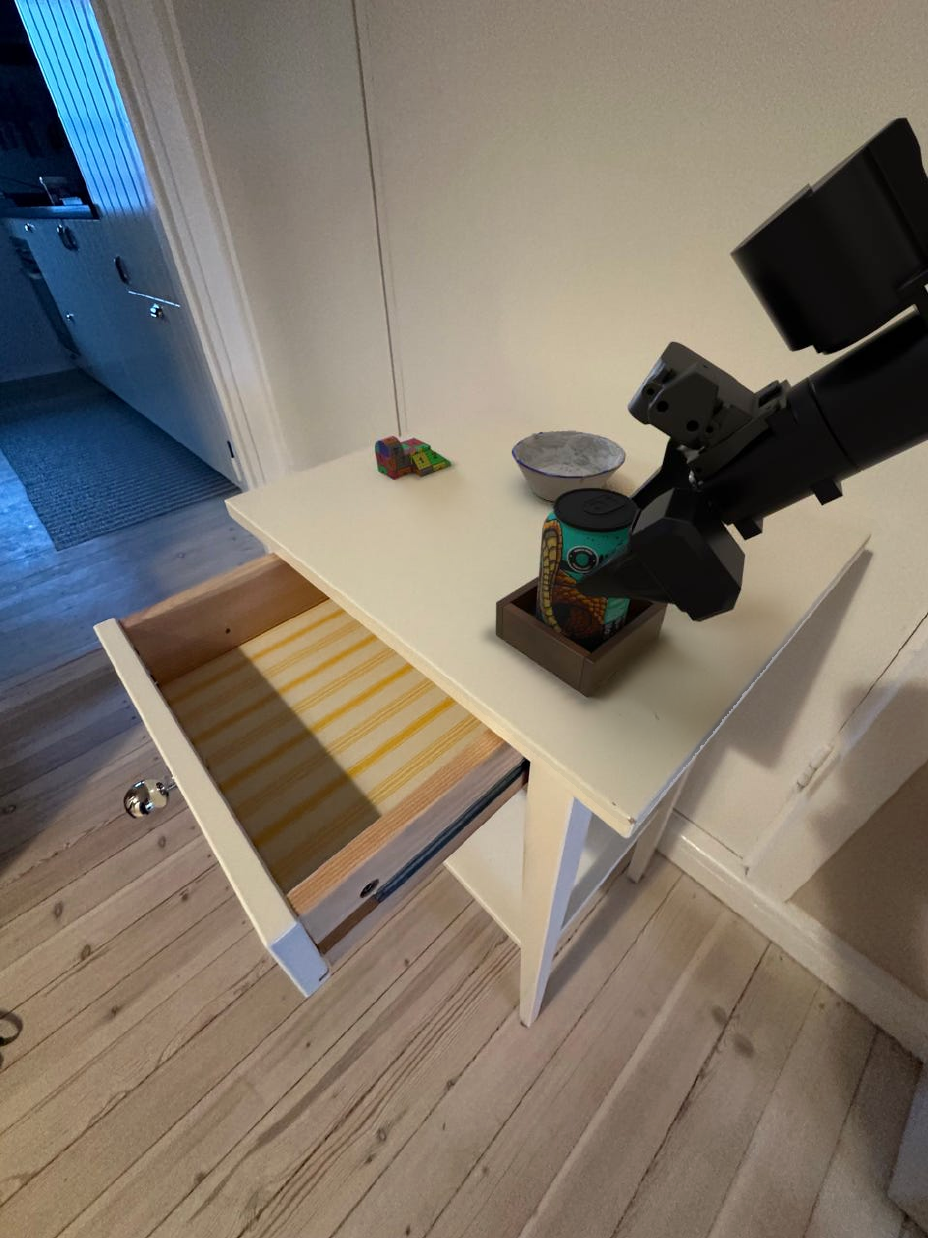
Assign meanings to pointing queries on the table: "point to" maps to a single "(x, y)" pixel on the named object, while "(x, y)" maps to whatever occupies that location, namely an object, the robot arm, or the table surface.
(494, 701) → the table surface
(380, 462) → the numbered block arch
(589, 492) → the beverage can
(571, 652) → the tray
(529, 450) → the bowl
